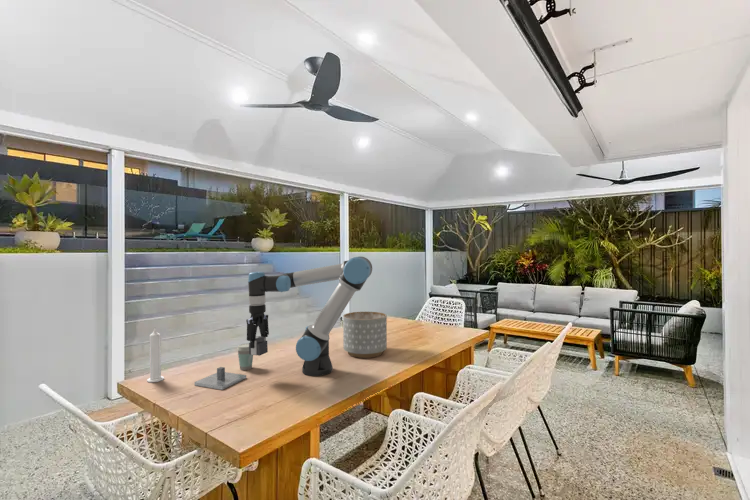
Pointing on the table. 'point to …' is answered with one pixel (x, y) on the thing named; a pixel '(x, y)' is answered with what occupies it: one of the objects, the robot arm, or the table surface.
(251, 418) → the table surface
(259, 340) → the knob
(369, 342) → the planter
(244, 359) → the coffee cup
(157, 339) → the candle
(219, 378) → the grey square plate
